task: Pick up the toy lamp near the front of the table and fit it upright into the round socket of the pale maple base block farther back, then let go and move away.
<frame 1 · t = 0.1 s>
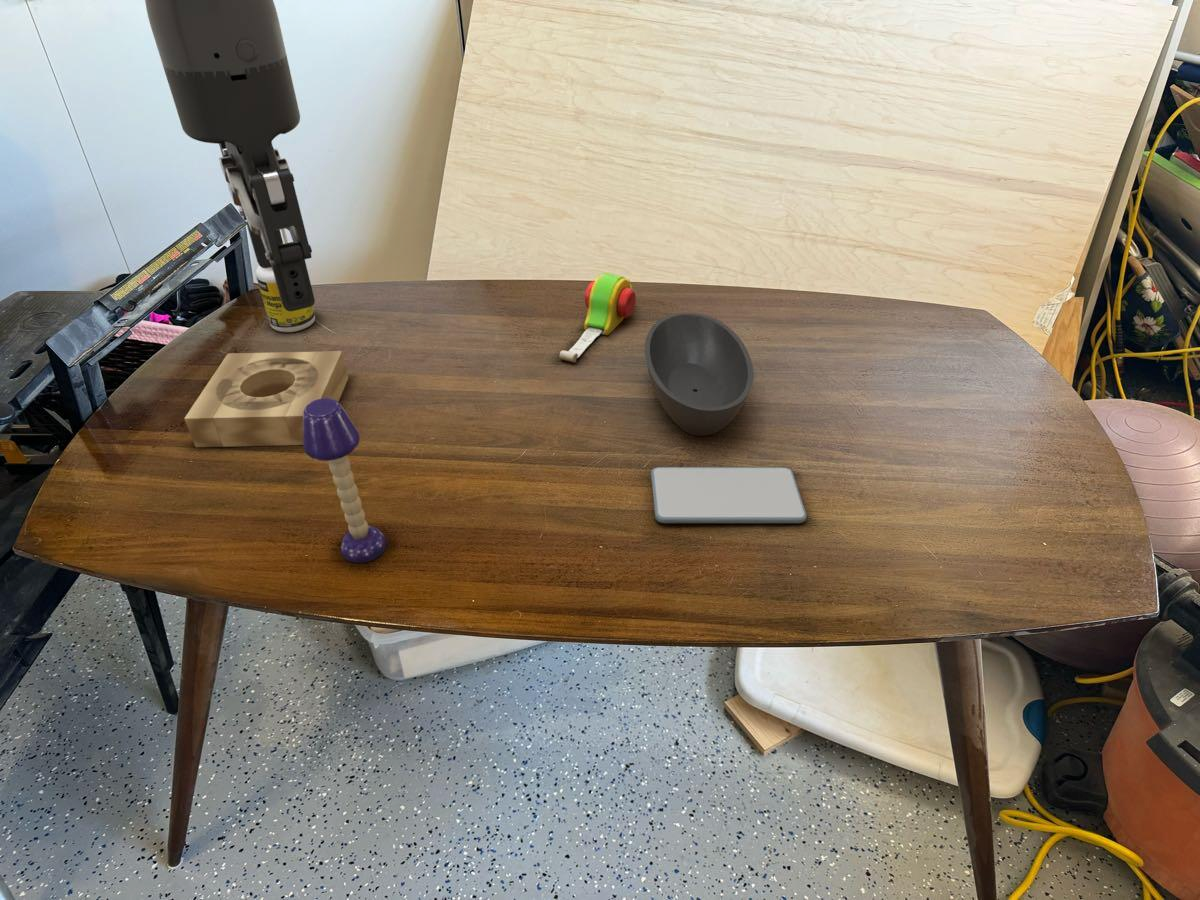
hand: (286, 285, 61), 27 cm above the table, tool pointing down, fingers open, 8 cm apart
socket base: (276, 410, 95), on the table
bowl: (693, 402, 96), on the table
toy lamp: (361, 550, 76), on the table
smartphone: (725, 499, 82), on the table
toy measuring tape: (598, 332, 110), on the table
pill bottle: (294, 324, 112), on the table
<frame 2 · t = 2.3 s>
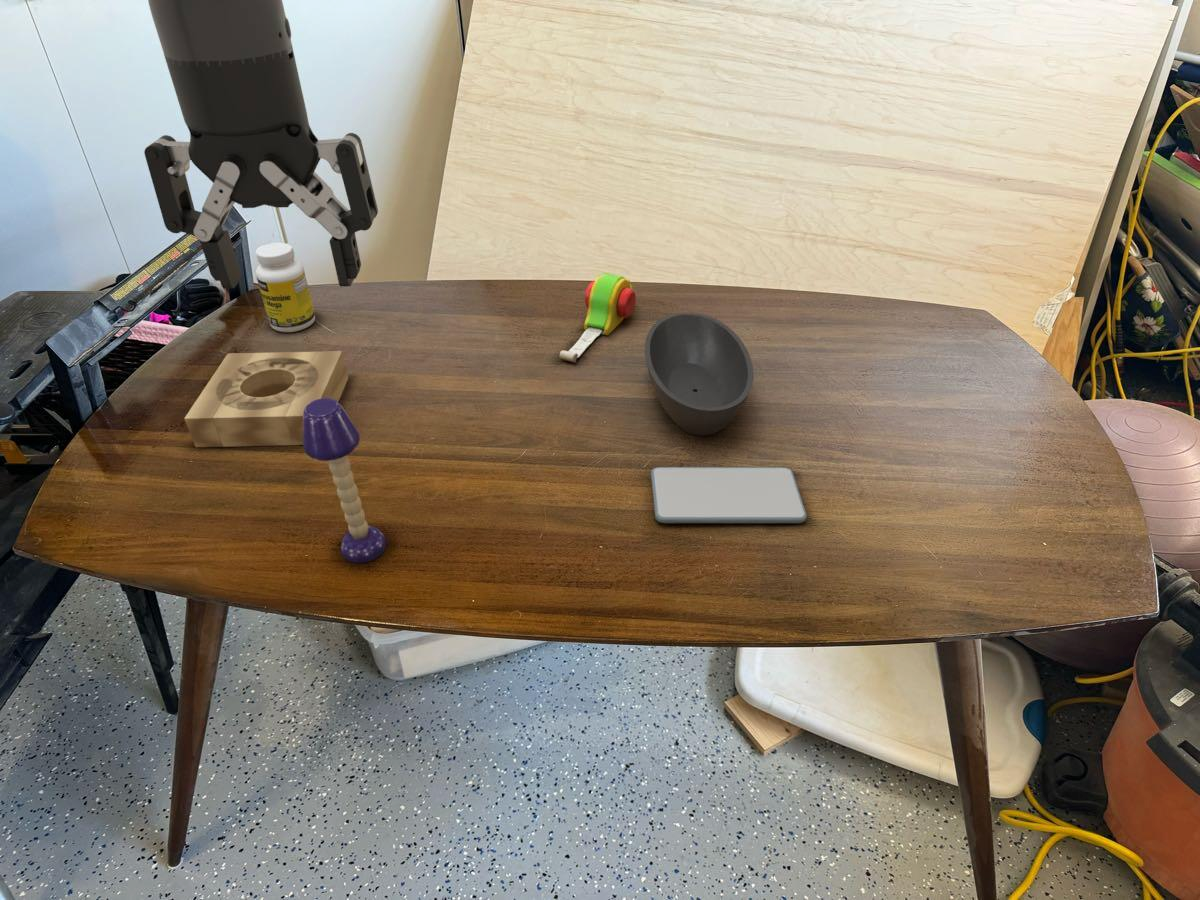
hand: (290, 283, 59), 28 cm above the table, tool pointing down, fingers open, 8 cm apart
nothing on the table moved.
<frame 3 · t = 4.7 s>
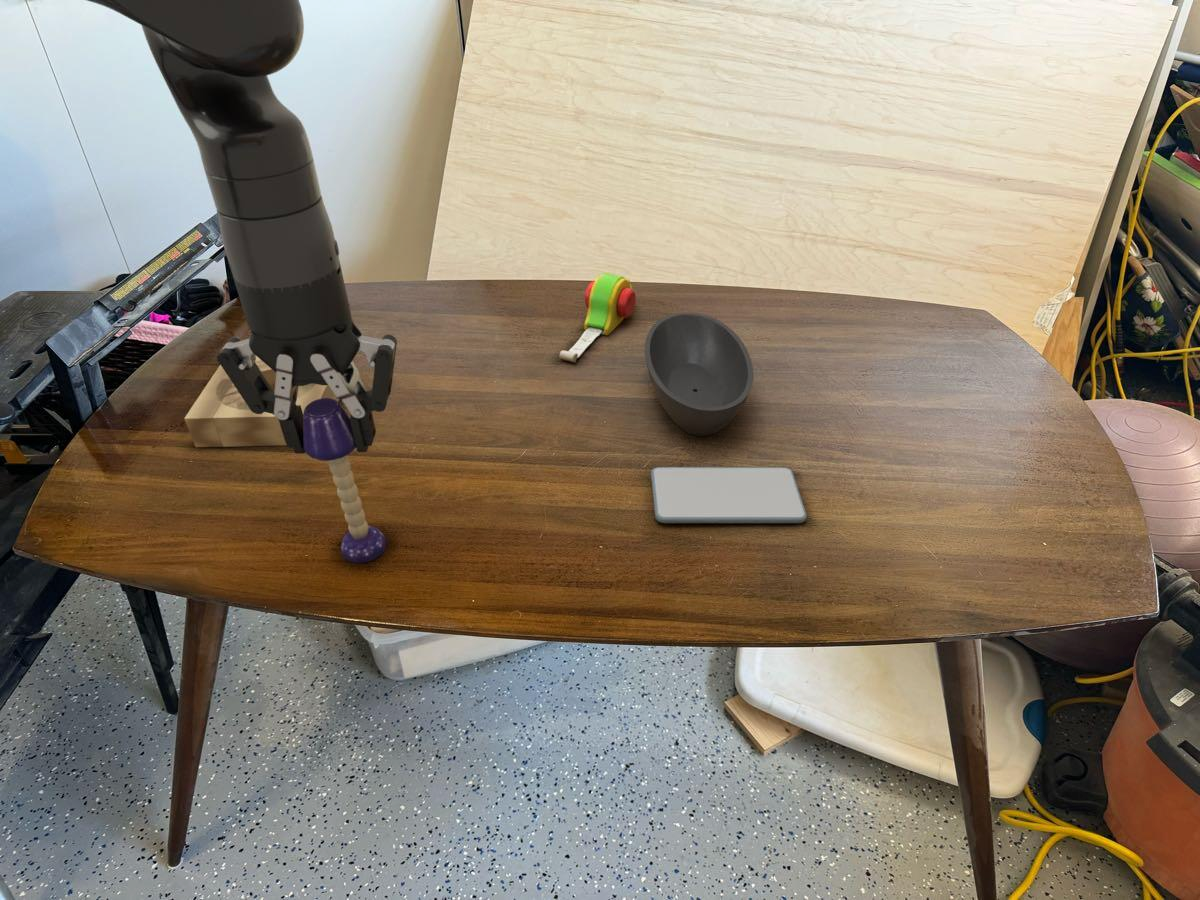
hand: (334, 446, 69), 12 cm above the table, tool pointing down, fingers closed on toy lamp, 4 cm apart
toy lamp: (361, 550, 76), on the table, touching gripper
everything else where it was.
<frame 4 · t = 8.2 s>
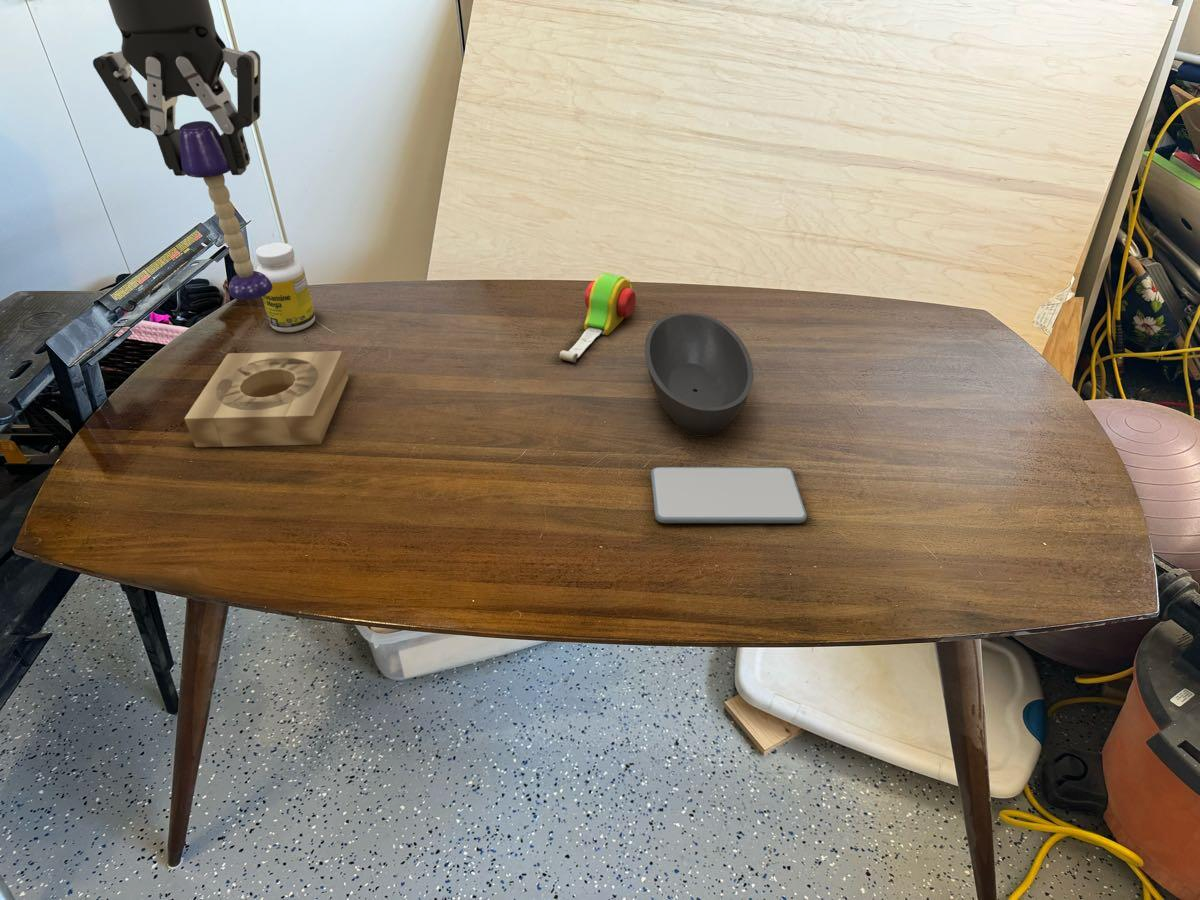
hand: (211, 172, 75), 29 cm above the table, tool pointing down, fingers closed on toy lamp, 4 cm apart
toy lamp: (248, 293, 82), point 17 cm above the table, touching gripper
everything else where it was.
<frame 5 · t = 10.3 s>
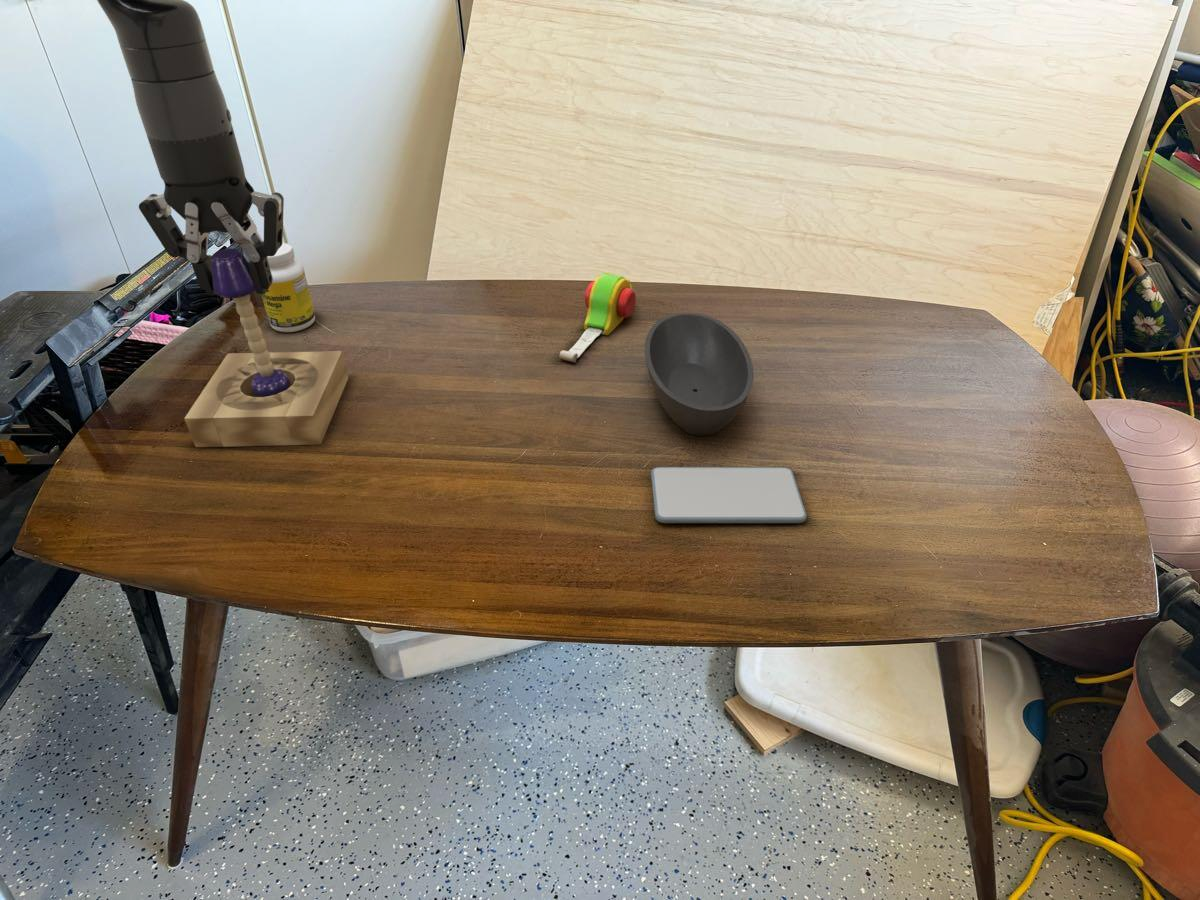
hand: (239, 290, 85), 16 cm above the table, tool pointing down, fingers closed on toy lamp, 4 cm apart
toy lamp: (268, 389, 93), point 3 cm above the table, touching gripper
everything else where it was.
when the fingers open (12 cm above the table, at t = 11.9 s): toy lamp stays where it is, resting in socket base.
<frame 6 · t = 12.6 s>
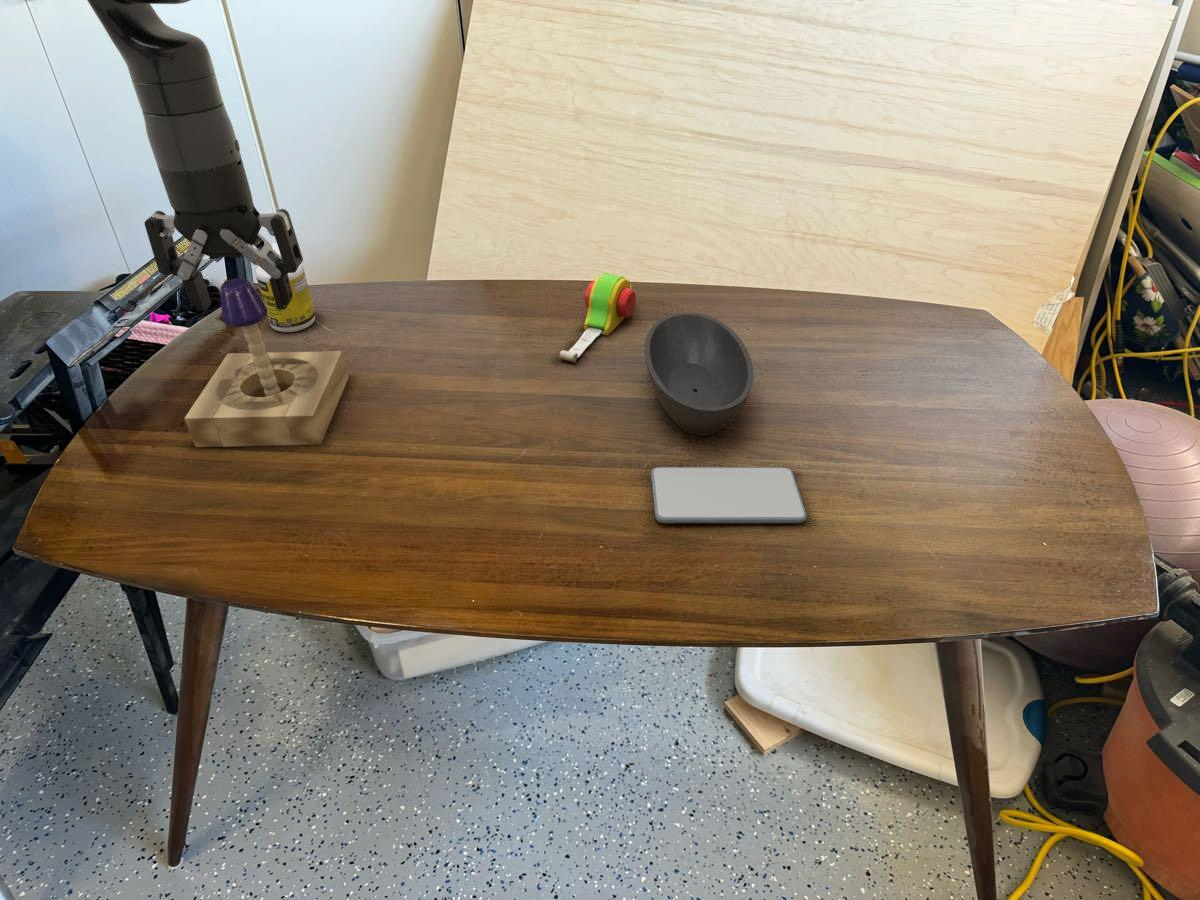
hand: (244, 307, 86), 14 cm above the table, tool pointing down, fingers open, 8 cm apart
toy lamp: (276, 412, 95), resting in socket base
everything else where it was.
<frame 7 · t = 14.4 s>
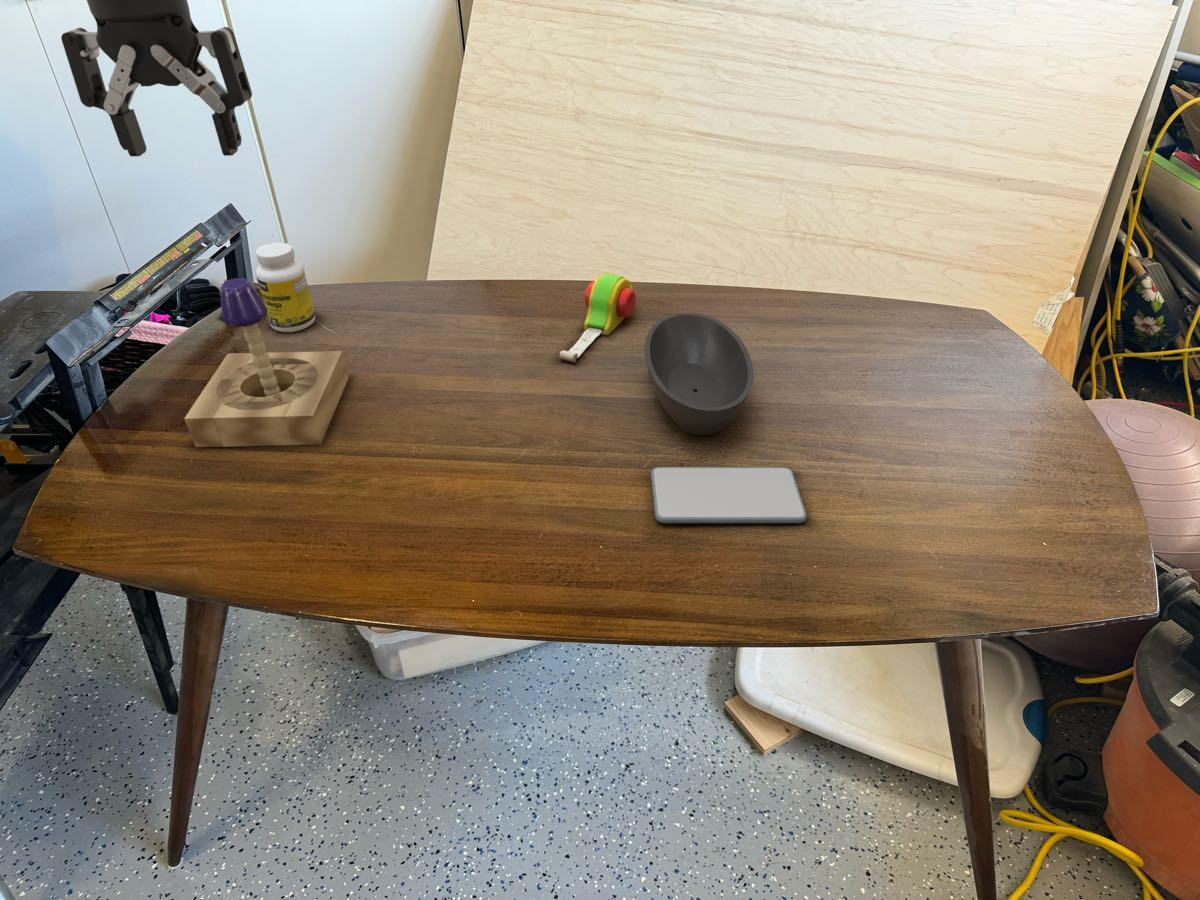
hand: (185, 153, 74), 31 cm above the table, tool pointing down, fingers open, 8 cm apart
nothing on the table moved.
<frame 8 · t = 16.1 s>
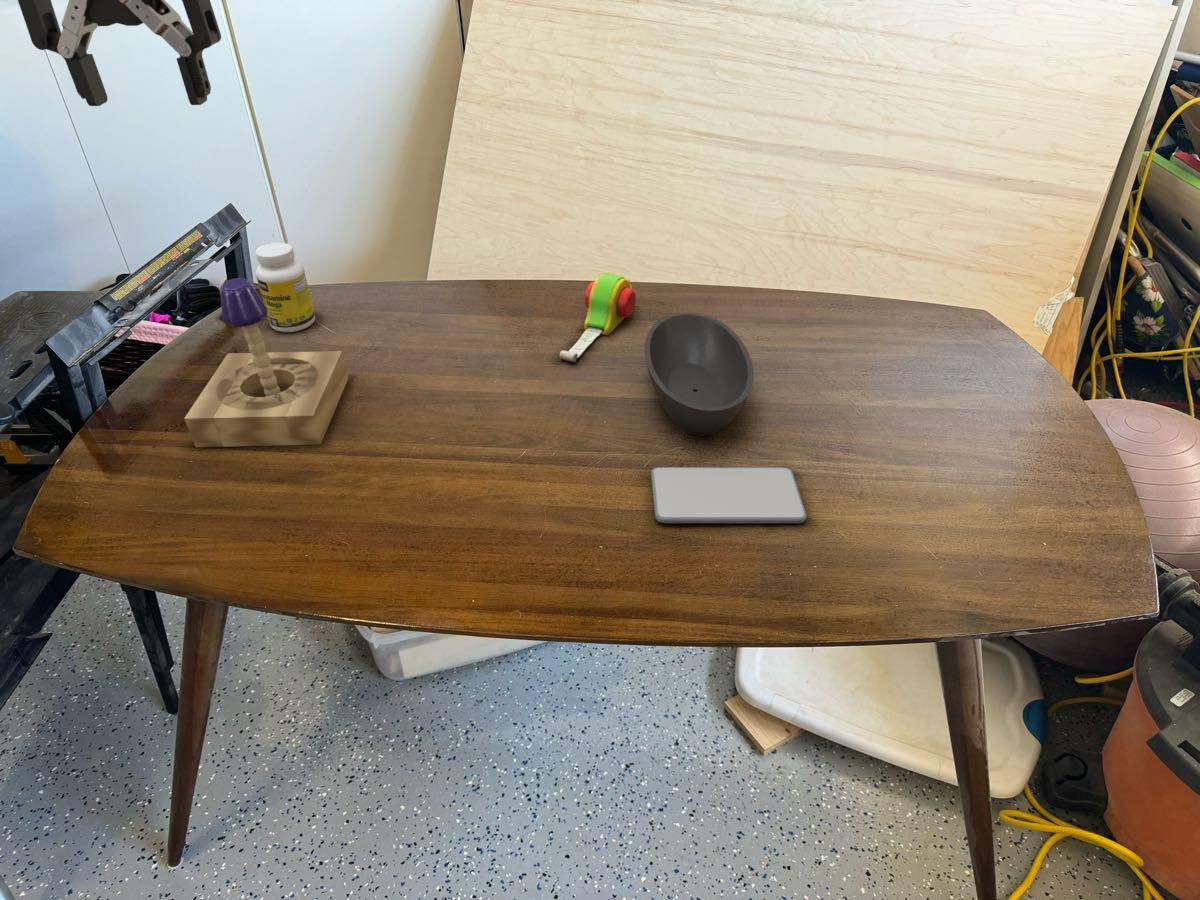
hand: (149, 103, 68), 36 cm above the table, tool pointing down, fingers open, 8 cm apart
nothing on the table moved.
at the end: toy lamp 0.1 cm off-centre in the socket base, point 0.0 cm above the socket base's base; toy lamp tilted 0°; the gripper is holding nothing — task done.
